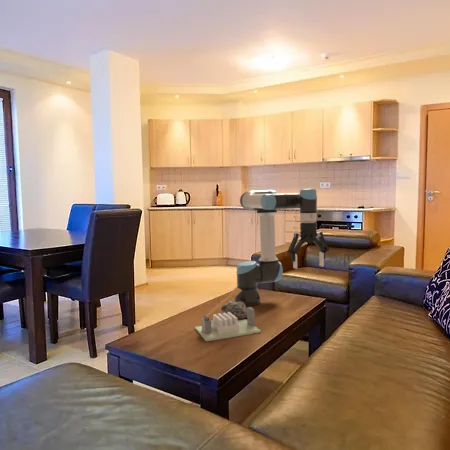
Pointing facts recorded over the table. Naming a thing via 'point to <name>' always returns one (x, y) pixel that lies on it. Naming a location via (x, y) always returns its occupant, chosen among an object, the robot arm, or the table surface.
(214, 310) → the strap
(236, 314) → the rock
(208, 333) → the heatsink board
